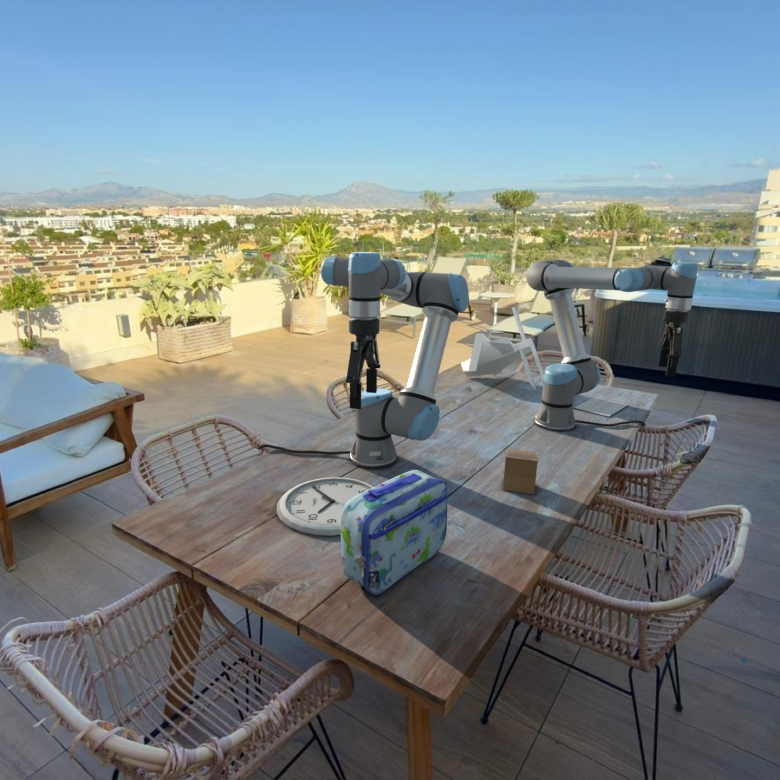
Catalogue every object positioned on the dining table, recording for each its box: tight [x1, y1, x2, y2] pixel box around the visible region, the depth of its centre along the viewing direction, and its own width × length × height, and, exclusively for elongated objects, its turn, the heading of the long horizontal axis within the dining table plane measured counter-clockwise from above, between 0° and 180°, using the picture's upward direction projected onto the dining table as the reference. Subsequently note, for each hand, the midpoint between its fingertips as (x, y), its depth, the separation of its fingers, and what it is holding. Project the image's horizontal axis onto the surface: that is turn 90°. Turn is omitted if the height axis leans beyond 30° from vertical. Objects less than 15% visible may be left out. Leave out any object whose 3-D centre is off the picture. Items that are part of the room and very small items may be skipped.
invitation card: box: [573, 396, 629, 418], centre depth 226 cm, size 21×1×15 cm
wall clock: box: [276, 476, 375, 537], centre depth 142 cm, size 30×2×30 cm
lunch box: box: [340, 469, 448, 596], centre depth 114 cm, size 26×11×21 cm, turn 134°
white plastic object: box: [460, 306, 545, 391], centre depth 259 cm, size 37×45×31 cm
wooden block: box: [502, 448, 539, 495], centre depth 153 cm, size 6×9×10 cm
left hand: (363, 400), depth 134 cm, fingers open, 13 cm apart
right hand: (666, 371), depth 181 cm, fingers open, 13 cm apart
